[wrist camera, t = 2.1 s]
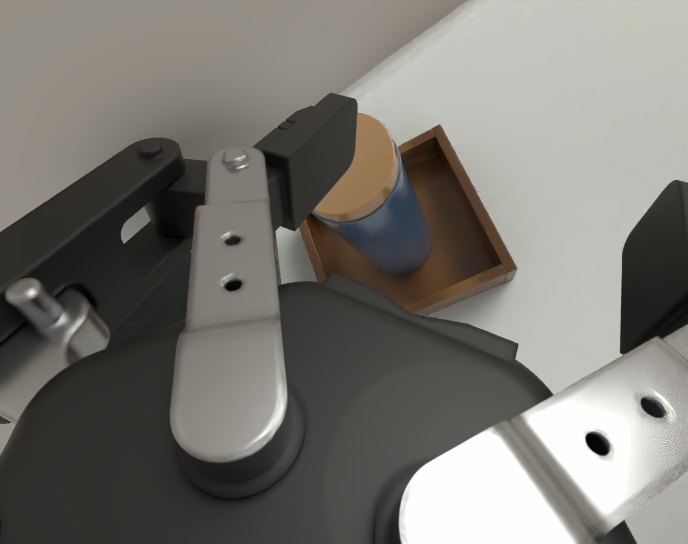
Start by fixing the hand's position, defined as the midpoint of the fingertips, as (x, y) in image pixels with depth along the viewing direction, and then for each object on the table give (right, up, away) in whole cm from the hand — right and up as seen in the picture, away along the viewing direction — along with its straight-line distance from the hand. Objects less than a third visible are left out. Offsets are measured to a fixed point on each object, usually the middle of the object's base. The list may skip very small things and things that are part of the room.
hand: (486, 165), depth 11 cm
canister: (+1, 0, +25) cm, 25 cm away
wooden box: (+1, 0, +25) cm, 25 cm away
